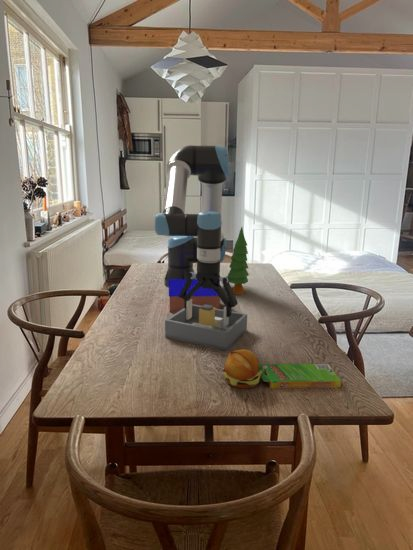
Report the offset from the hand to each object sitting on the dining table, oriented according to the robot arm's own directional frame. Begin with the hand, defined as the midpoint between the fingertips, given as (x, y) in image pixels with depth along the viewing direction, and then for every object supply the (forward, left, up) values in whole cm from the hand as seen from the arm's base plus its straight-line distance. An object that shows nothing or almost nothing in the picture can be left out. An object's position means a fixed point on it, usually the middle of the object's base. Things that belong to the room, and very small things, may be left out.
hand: (207, 321), depth 140 cm
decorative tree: (-8, +48, -4) cm, 49 cm away
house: (-16, +22, -5) cm, 27 cm away
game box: (+35, -16, -5) cm, 38 cm away
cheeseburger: (+22, -24, -5) cm, 33 cm away
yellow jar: (0, 0, -3) cm, 3 cm away
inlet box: (0, 0, -4) cm, 4 cm away
